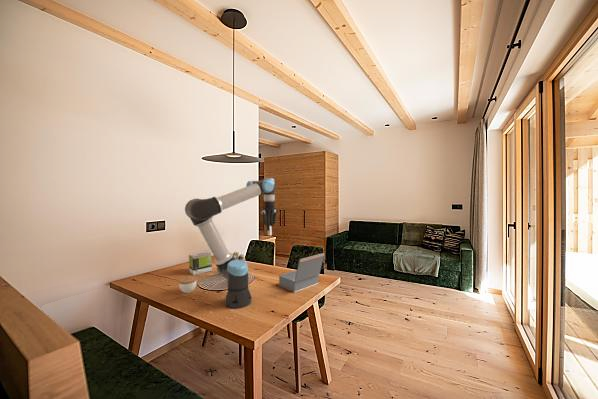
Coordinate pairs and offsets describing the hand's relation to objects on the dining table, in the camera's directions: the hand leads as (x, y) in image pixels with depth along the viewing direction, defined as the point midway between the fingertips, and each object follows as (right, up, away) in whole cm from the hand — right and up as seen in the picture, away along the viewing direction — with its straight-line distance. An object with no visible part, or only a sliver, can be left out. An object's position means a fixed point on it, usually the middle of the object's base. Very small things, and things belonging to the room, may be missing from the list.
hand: (269, 235), depth 173 cm
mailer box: (+20, -34, 0) cm, 40 cm away
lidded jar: (-52, -36, -9) cm, 64 cm away
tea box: (-59, -34, +31) cm, 75 cm away
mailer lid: (+27, -20, -8) cm, 34 cm away
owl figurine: (-28, -34, +26) cm, 51 cm away
